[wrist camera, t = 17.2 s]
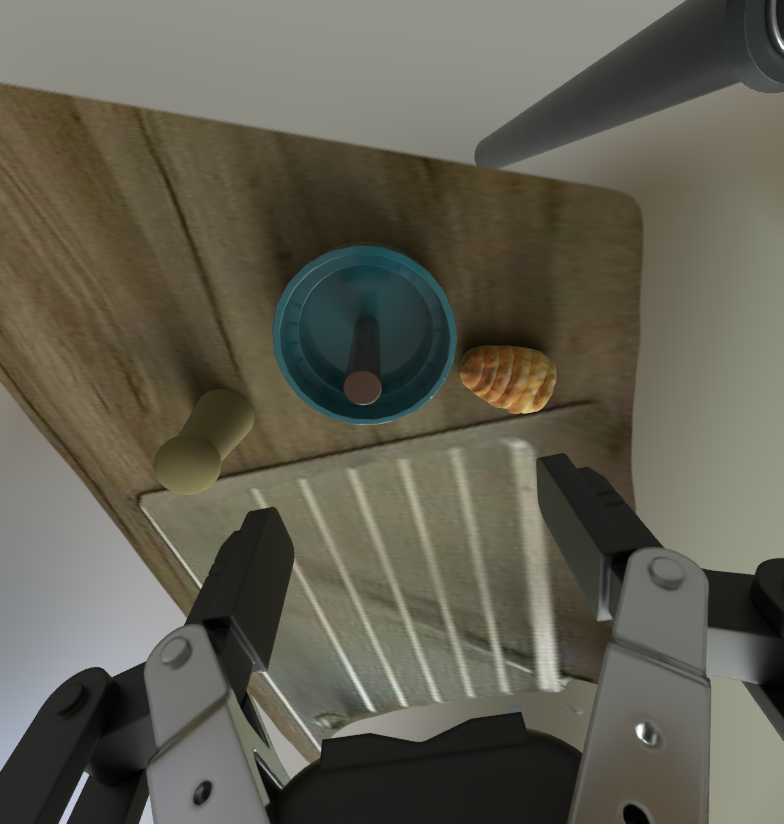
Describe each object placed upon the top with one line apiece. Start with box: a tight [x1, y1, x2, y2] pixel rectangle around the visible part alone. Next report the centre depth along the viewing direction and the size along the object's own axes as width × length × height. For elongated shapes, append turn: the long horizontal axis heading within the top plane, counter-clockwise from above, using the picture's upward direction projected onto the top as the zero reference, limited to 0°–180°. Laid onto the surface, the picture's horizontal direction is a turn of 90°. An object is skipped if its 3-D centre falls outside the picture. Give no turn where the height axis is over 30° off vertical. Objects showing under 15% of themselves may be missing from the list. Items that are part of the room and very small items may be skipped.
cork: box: [153, 389, 255, 495], centre depth 36 cm, size 6×6×11 cm
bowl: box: [272, 241, 457, 425], centre depth 35 cm, size 15×15×6 cm
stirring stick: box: [344, 316, 382, 405], centre depth 30 cm, size 2×2×14 cm
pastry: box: [459, 345, 556, 414], centre depth 38 cm, size 9×7×4 cm
